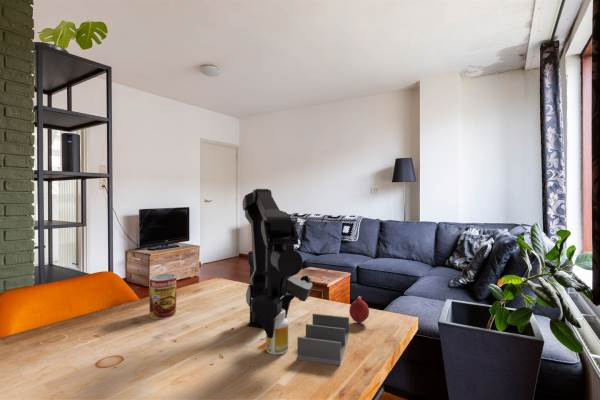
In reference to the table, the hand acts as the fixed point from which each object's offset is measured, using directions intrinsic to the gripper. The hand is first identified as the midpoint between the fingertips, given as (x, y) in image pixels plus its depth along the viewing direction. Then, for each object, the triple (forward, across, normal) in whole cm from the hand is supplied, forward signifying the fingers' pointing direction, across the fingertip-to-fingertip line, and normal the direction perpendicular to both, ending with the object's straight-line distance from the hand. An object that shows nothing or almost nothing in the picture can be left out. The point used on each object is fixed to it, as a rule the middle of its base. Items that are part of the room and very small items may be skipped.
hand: (277, 329), depth 77 cm
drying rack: (+5, +5, -11) cm, 13 cm away
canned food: (+5, +12, +43) cm, 45 cm away
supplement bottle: (+5, 0, 0) cm, 5 cm away
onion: (+5, +22, -18) cm, 29 cm away
